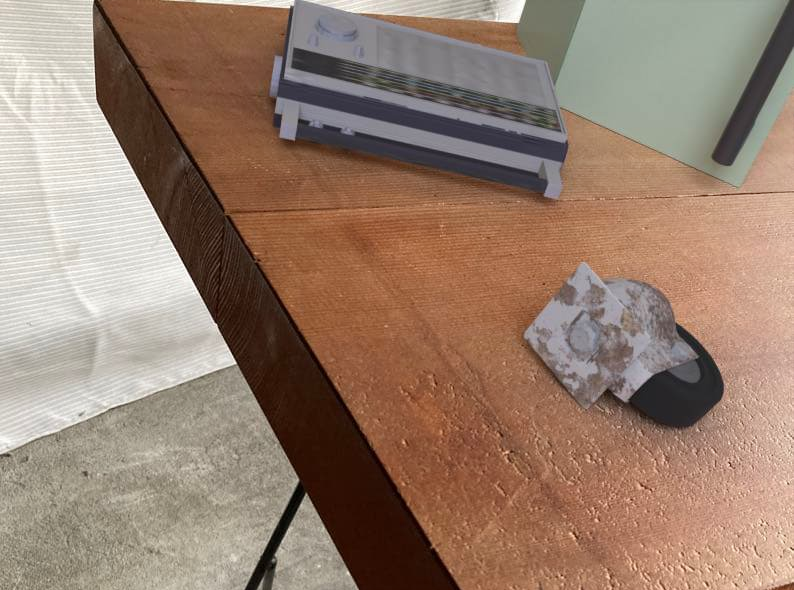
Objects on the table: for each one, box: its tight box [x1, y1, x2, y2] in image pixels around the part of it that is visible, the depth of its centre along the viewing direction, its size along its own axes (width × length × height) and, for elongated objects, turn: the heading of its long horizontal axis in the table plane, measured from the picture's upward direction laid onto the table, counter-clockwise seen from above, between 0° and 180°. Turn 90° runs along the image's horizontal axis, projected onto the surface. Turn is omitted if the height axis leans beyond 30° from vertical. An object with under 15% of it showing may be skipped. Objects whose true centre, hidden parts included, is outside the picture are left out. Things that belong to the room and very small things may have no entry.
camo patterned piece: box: [523, 261, 725, 429], centre depth 64 cm, size 7×11×10 cm
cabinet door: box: [554, 0, 794, 189], centre depth 84 cm, size 8×20×22 cm, turn 63°
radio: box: [268, 0, 570, 200], centre depth 83 cm, size 24×5×20 cm
